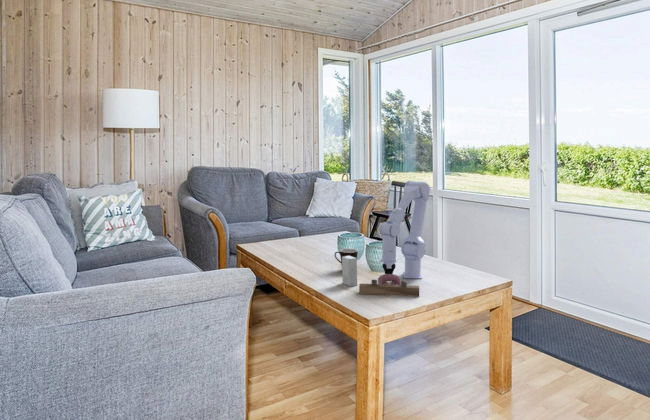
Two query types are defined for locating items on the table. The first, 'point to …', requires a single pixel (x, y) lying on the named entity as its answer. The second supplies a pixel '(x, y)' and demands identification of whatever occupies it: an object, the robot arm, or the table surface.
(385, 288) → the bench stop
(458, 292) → the table surface
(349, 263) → the skincare box
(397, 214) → the robot arm
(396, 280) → the video game controller
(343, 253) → the coffee mug
